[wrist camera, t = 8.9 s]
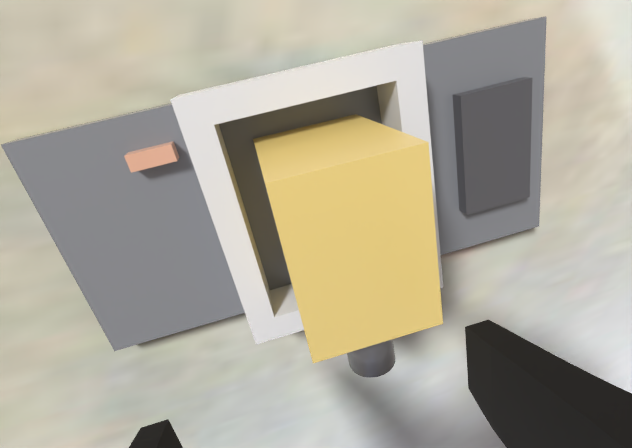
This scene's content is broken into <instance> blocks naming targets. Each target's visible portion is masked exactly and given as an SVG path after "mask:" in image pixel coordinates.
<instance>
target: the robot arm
mask: <svg viewBox="0 0 632 448" xmlns="http://www.w3.org/2000/svg"><path fill="white" fill-rule="evenodd" d="M465 332H466V350H467V368H468V386H469V390H470V391H471V393H472V395H473V397H474V398H475V400H476V402H477V404H478V405H479V407H480V409H481V410H482V412H483V414H484V415H485V417H486V419H487V420H488V422H489V423H490V425H491V427H492V428H493V430H494V431H495V433H496V434H497V435H498V437H499V438H500V439H501V441H502V442H503V443H504V445H505V446H506V447H507V448H632V394H631V393H629V392H627V391H625V390H623V389H621V388H618V387H616V386H614V385H612V384H610V383H608V382H606V381H604V380H602V379H600V378H598V377H596V376H594V375H592V374H590V373H588V372H586V371H584V370H582V369H580V368H578V367H576V366H574V365H572V364H570V363H568V362H566V361H564V360H562V359H561V358H559V357H557V356H555V355H553V354H551V353H549V352H547V351H545V350H544V349H542V348H540V347H538V346H536V345H534V344H532V343H531V342H529V341H527V340H525V339H523V338H521V337H520V336H518V335H516V334H514V333H512V332H510V331H509V330H507V329H505V328H503V327H501V326H499V325H497V324H496V323H494V322H492V321H490V320H486V321H483V322H480V323H476V324H473V325H470V326H467V327H465ZM129 448H183V447H182V445H181V443H180V441H179V439H178V437H177V436H176V434H175V432H174V430H173V428H172V426H171V424H170V422H169V420H165V421H161V422H158V423H155V424H152V425H149V426H145V427H142V428H141V429H140V430H139V432H138V433H137V435H136V437H135V438H134V440H133V442H132V443H131V445H130V447H129Z"/></svg>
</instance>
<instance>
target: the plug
mask: <svg viewBox="0 0 632 448" xmlns="http://www.w3.org/2000/svg"><path fill="white" fill-rule="evenodd" d="M253 141H254V144H255V148H256V152H257V156H258V159H259V163H260V167H261V171H262V174H263V178H264V182H265V186H266V189H267V193H268V197H269V201H270V204H271V208H272V212H273V216H274V219H275V223H276V227H277V231H278V234H279V238H280V242H281V245H282V249H283V253H284V257H285V260H286V264H287V268H288V272H289V275H290V279H291V283H292V286H293V290H294V294H295V298H296V301H297V305H298V309H299V312H300V316H301V320H302V324H303V327H304V331H305V335H306V338H307V342H308V346H309V350H310V353H311V357H312V361H313V363H316V362H319V361H323V360H326V359H329V358H332V357H336V356H339V355H342V354H345V353H347V355H348V360H349V364H350V367H351V369H352V370H353V371H354V372H355V373H356V374H358V375H360V376H363V377H378V376H381V375H384V374H385V373H387V372H388V371H390V370H391V368H392V367H393V365H394V363H395V353H394V347H393V340H392V339H395V338H398V337H401V336H404V335H408V334H411V333H414V332H417V331H421V330H424V329H427V328H431V327H434V326H437V325H440V324H443V318H442V306H441V293H440V280H439V268H438V255H437V243H436V230H435V217H434V205H433V192H432V180H431V167H430V155H429V142H427V141H424V140H422V139H419V138H416V137H414V136H411V135H409V134H406V133H403V132H401V131H398V130H396V129H393V128H390V127H388V126H385V125H383V124H380V123H377V122H375V121H372V120H370V119H367V118H364V117H362V116H359V115H356V114H355V115H351V116H347V117H342V118H338V119H334V120H330V121H326V122H322V123H317V124H313V125H309V126H305V127H301V128H297V129H292V130H288V131H284V132H280V133H276V134H272V135H268V136H263V137H259V138H255V139H253Z"/></svg>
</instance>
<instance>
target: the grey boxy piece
mask: <svg viewBox="0 0 632 448" xmlns="http://www.w3.org/2000/svg"><path fill="white" fill-rule="evenodd" d="M545 42H546V17H540V18H534V19H528V20H524V21H520V22H515V23H511V24H507V25H503V26H498V27H494V28H490V29H486V30H481V31H477V32H473V33H469V34H464V35H460V36H456V37H451V38H447V39H443V40H439V41H434V42H430V43H426V44H423V41H415V42H408V43H401V44H395V45H391V46H387V47H382V48H378V49H374V50H370V51H365V52H361V53H357V54H352V55H348V56H344V57H340V58H335V59H331V60H327V61H322V62H318V63H314V64H309V65H305V66H301V67H297V68H292V69H288V70H284V71H279V72H275V73H271V74H267V75H262V76H258V77H254V78H249V79H245V80H241V81H237V82H232V83H228V84H224V85H219V86H215V87H211V88H207V89H202V90H198V91H194V92H189V93H185V94H181V95H178V96H176V97H174V98H172V99H170V100H171V103H170V104H166V105H162V106H158V107H153V108H149V109H145V110H141V111H136V112H132V113H128V114H124V115H119V116H115V117H111V118H107V119H102V120H98V121H94V122H90V123H85V124H81V125H77V126H73V127H68V128H64V129H60V130H56V131H51V132H47V133H43V134H38V135H34V136H30V137H26V138H21V139H17V140H14V141H11V142H8V143H5V144H2V145H1V146H2V148H3V149H4V151H5V153H6V155H7V157H8V159H9V160H10V162H11V164H12V166H13V168H14V169H15V171H16V173H17V175H18V177H19V179H20V180H21V182H22V184H23V186H24V188H25V189H26V191H27V193H28V195H29V197H30V198H31V200H32V202H33V204H34V206H35V208H36V209H37V211H38V213H39V215H40V217H41V218H42V220H43V222H44V224H45V226H46V228H47V229H48V231H49V233H50V235H51V237H52V238H53V240H54V242H55V244H56V246H57V247H58V249H59V251H60V253H61V255H62V257H63V258H64V260H65V262H66V264H67V266H68V267H69V269H70V271H71V273H72V275H73V277H74V278H75V280H76V282H77V284H78V286H79V287H80V289H81V291H82V293H83V295H84V296H85V298H86V300H87V302H88V304H89V306H90V307H91V309H92V311H93V313H94V315H95V316H96V318H97V320H98V322H99V324H100V326H101V327H102V329H103V331H104V333H105V335H106V336H107V338H108V340H109V342H110V344H111V345H112V347H113V349H114V351H116V350H120V349H123V348H126V347H130V346H133V345H137V344H140V343H143V342H147V341H150V340H154V339H157V338H161V337H164V336H167V335H171V334H174V333H178V332H181V331H184V330H188V329H191V328H195V327H198V326H201V325H205V324H208V323H212V322H215V321H218V320H222V319H225V318H229V317H232V316H235V315H239V314H242V313H245V314H246V317H247V320H248V323H249V326H250V329H251V331H252V334H253V337H254V340H255V343H256V344H260V343H263V342H266V341H270V340H273V339H276V338H280V337H283V336H286V335H289V334H293V333H296V332H299V331H303V330H304V327H303V324H302V320H301V316H300V312H299V309H298V305H297V301H296V298H295V294H294V290H293V286H292V283H291V279H290V275H289V272H288V268H287V264H286V260H285V257H284V253H283V249H282V245H281V242H280V238H279V234H278V231H277V227H276V223H275V219H274V216H273V212H272V208H271V204H270V201H269V197H268V193H267V189H266V186H265V182H264V178H263V174H262V171H261V167H260V163H259V159H258V156H257V152H256V148H255V144H254V141H253V139H255V138H259V137H263V136H268V135H272V134H276V133H280V132H284V131H288V130H292V129H297V128H301V127H305V126H309V125H313V124H317V123H322V122H326V121H330V120H334V119H338V118H342V117H347V116H351V115H355V114H356V115H359V116H362V117H364V118H367V119H370V120H372V121H375V122H377V123H380V124H383V125H385V126H388V127H390V128H393V129H396V130H398V131H401V132H403V133H406V134H409V135H411V136H414V137H416V138H419V139H422V140H424V141H427V142H429V155H430V167H431V180H432V192H433V205H434V217H435V230H436V243H437V255H438V268H439V280H440V289H441V288H443V277H442V265H441V255H443V254H446V253H450V252H453V251H457V250H460V249H463V248H467V247H470V246H474V245H477V244H480V243H484V242H487V241H491V240H494V239H497V238H501V237H504V236H508V235H511V234H514V233H518V232H521V231H525V230H528V229H531V228H535V227H538V226H539V213H540V185H541V156H542V128H543V99H544V71H545Z"/></svg>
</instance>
